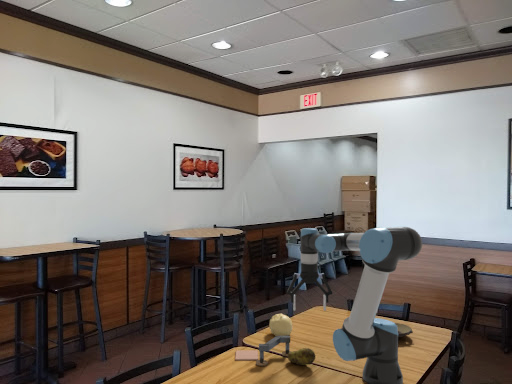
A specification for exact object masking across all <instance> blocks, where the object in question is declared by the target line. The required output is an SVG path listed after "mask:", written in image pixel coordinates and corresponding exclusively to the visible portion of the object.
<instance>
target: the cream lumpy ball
mask: <svg viewBox="0 0 512 384" xmlns="http://www.w3.org/2000/svg"><path fill="white" fill-rule="evenodd" d="M268 325H269V329H270V333H271V334H272V335H274V337H276V336H290V334H291V333H292V332H293V321H292V319H291V318H290V317H289V316H288V315H286V314H283V313H276V314H275V315H272V317H271V318H270V319H269V323H268Z"/></svg>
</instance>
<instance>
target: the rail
mask: <svg viewBox="0 0 512 384" xmlns="http://www.w3.org/2000/svg"><path fill="white" fill-rule="evenodd" d="M279 344H285V347H284V348H285V350H283V351H282V352H281V356H283V357H286V358H288V354H289V353H290V352H292V351H290V344H291V336H290V335H287V336H274V337H273V338H271V339H270V340H268V341H267V342H265V343H258V352H259V359H258V360H255V365H256V366H258V367H265V366H268V360H266V359H265V355H264V354H265V353H264V352H270V351H271V350H272V349H274V348H275V347H277V346H278V345H279Z"/></svg>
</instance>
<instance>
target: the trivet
mask: <svg viewBox="0 0 512 384" xmlns="http://www.w3.org/2000/svg"><path fill="white" fill-rule="evenodd" d="M234 360H235V361H257V360H259V349H256V350H253V349H251V350H250V349H249V350H247V349H246V350H245V349H243V350H241V349H240V350H239V349H238V350H235V359H234Z"/></svg>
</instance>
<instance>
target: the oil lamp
mask: <svg viewBox="0 0 512 384" xmlns="http://www.w3.org/2000/svg"><path fill="white" fill-rule="evenodd" d="M394 323H395V324H396V325H397V327H398V338H401V337H402V338H403V337H405V336H409V335H410V334H413V333H414V332H413V329H412V328H411V326H409V325H406V324H405V323H404V324H403V323H397V322H394Z"/></svg>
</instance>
